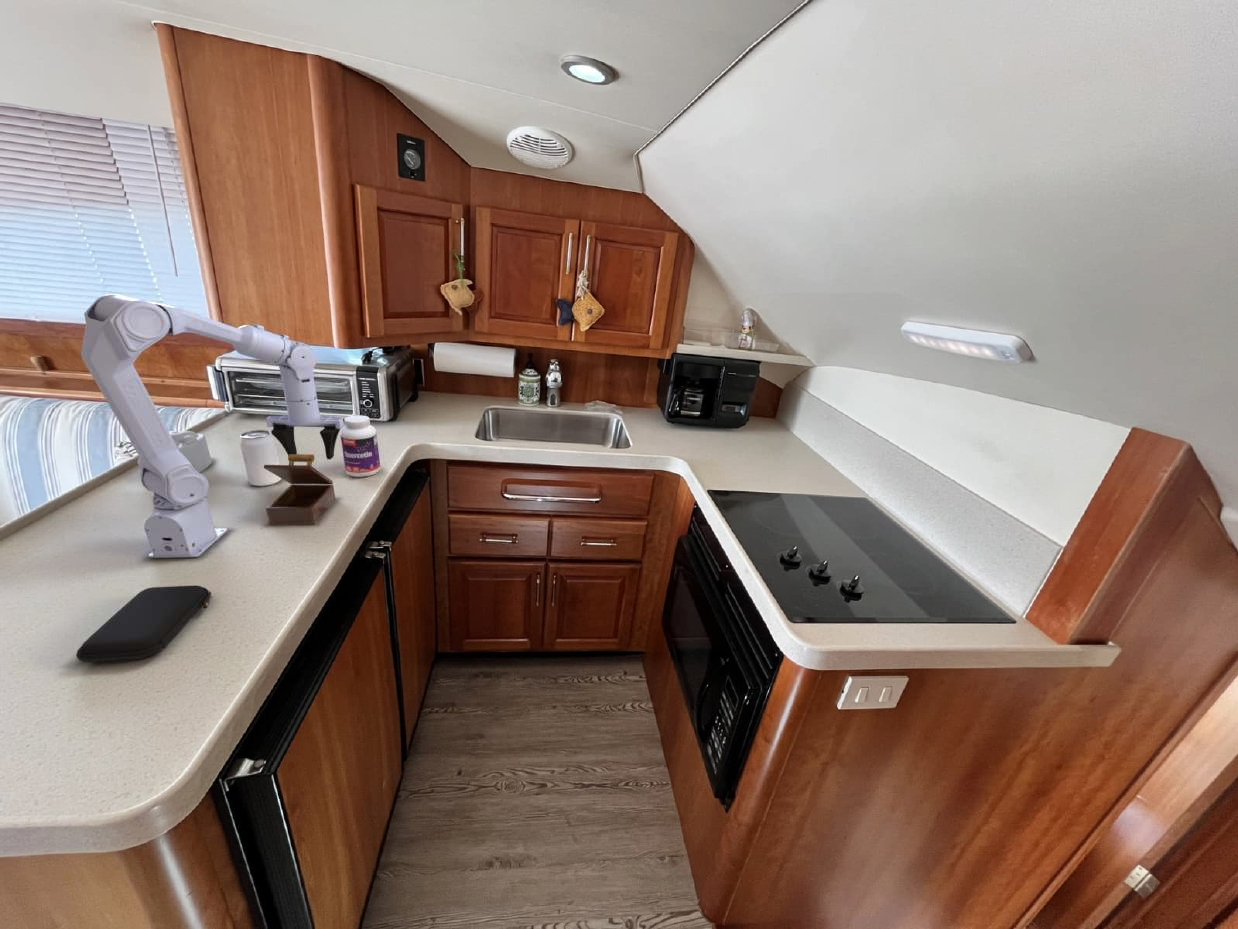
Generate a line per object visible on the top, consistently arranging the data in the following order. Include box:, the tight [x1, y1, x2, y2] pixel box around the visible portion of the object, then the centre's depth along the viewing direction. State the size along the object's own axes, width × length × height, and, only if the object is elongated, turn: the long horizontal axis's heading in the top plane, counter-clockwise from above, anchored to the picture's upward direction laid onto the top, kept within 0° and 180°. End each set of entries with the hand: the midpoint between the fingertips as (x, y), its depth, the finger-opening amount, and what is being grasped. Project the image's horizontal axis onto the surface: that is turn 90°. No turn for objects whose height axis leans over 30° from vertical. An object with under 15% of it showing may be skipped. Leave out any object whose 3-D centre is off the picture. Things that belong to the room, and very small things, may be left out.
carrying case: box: [76, 584, 212, 664], centre depth 72 cm, size 11×3×15 cm
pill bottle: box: [339, 414, 381, 478], centre depth 123 cm, size 8×8×14 cm
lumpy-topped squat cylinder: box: [169, 430, 213, 473], centre depth 117 cm, size 10×13×9 cm
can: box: [239, 429, 282, 487], centre depth 115 cm, size 6×6×12 cm
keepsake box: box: [265, 484, 337, 525], centre depth 105 cm, size 11×9×4 cm
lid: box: [264, 453, 334, 485], centre depth 104 cm, size 12×9×5 cm
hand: (312, 457), depth 109 cm, fingers open, 7 cm apart
